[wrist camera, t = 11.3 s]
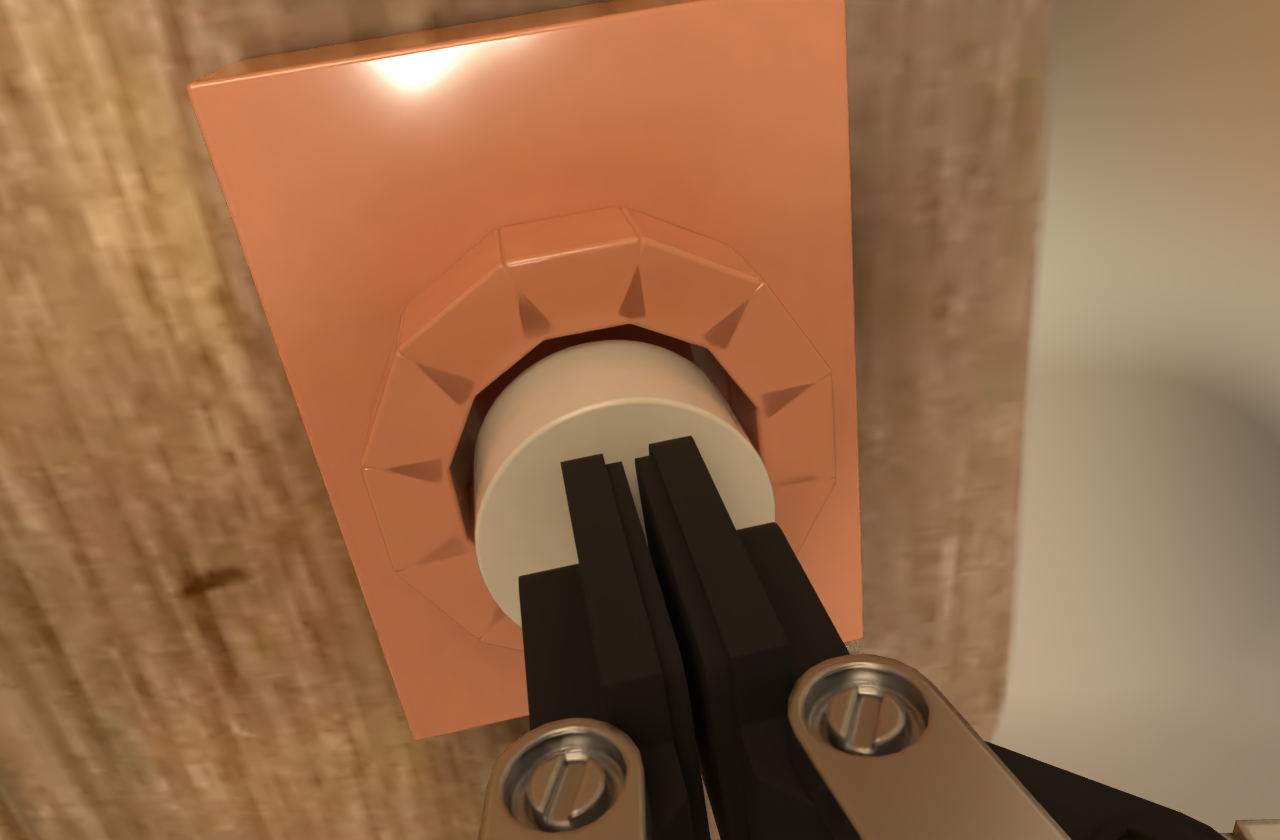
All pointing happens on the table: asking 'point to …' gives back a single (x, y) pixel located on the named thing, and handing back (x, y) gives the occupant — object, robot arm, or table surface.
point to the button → (595, 450)
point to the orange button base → (546, 274)
